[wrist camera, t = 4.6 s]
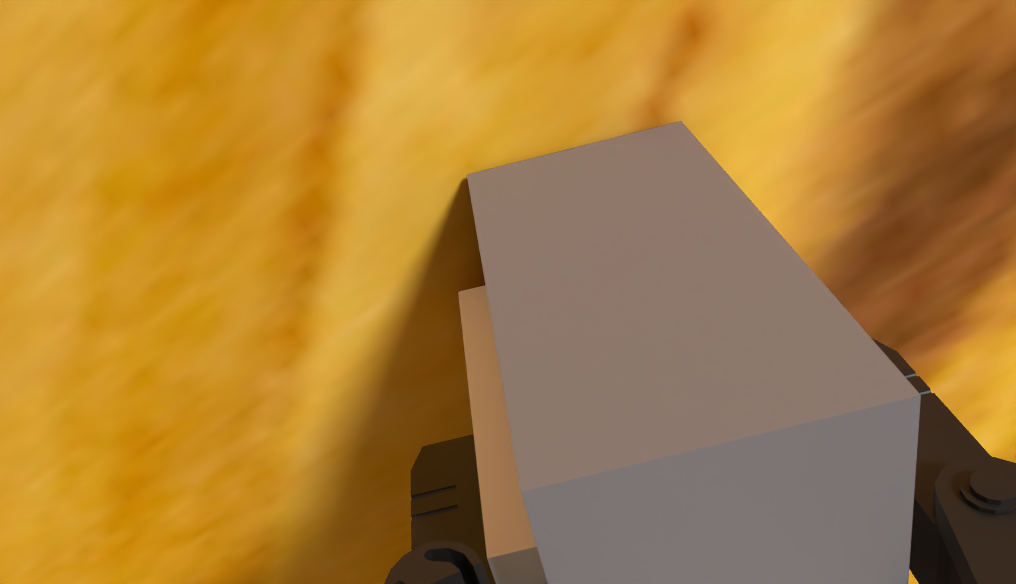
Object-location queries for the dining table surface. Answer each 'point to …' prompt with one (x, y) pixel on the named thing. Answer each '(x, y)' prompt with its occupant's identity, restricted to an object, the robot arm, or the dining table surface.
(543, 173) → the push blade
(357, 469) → the dining table surface
